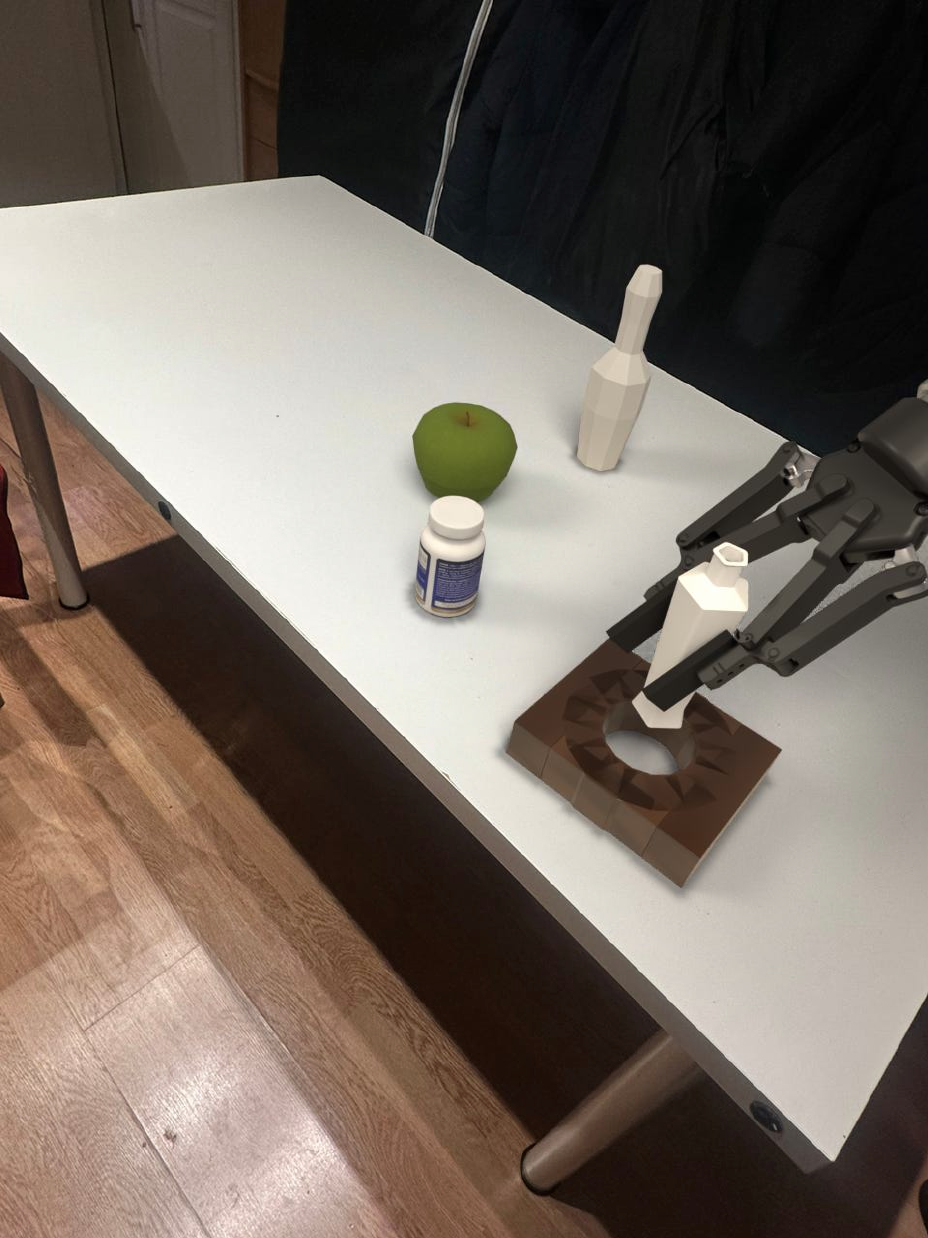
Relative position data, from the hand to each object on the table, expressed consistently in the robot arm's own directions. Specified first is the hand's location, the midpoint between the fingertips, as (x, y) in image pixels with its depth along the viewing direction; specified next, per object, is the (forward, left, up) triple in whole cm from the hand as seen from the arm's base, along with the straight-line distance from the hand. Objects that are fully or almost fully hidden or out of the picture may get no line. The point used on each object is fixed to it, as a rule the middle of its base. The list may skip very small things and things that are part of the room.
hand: (634, 670), depth 55 cm
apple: (+31, -19, -12) cm, 39 cm away
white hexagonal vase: (-2, -3, -5) cm, 7 cm away
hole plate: (-2, -3, -12) cm, 13 cm away
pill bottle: (+21, -6, -12) cm, 25 cm away
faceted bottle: (+25, -37, -12) cm, 47 cm away
